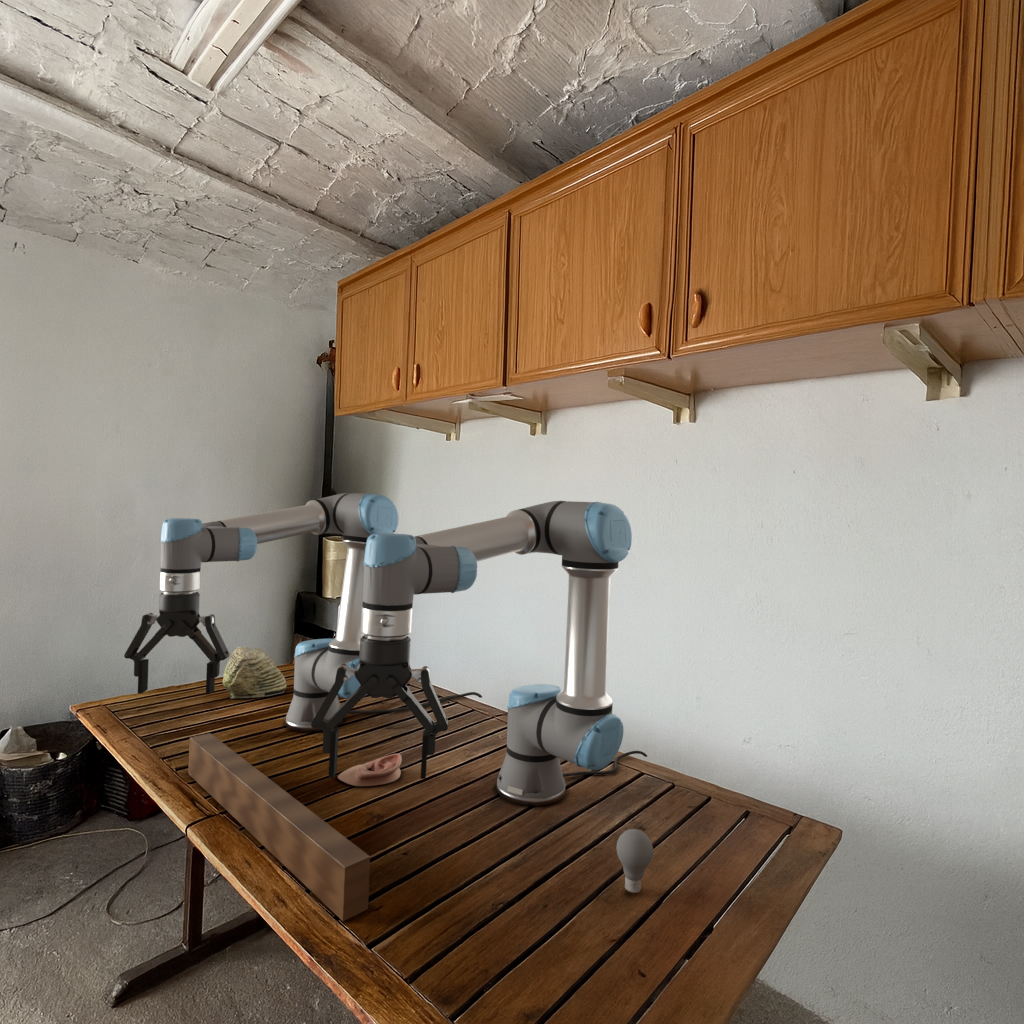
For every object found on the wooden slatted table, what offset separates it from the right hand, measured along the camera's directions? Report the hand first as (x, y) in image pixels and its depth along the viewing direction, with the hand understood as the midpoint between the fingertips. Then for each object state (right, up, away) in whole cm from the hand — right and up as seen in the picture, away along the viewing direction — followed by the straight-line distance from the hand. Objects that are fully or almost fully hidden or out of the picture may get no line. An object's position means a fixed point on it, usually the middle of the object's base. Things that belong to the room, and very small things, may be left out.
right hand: (378, 774), depth 96 cm
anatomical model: (-12, -20, +48) cm, 54 cm away
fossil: (-60, -17, +102) cm, 120 cm away
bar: (-27, -20, +24) cm, 41 cm away
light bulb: (+40, -23, +9) cm, 48 cm away
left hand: (-50, +2, +37) cm, 63 cm away
